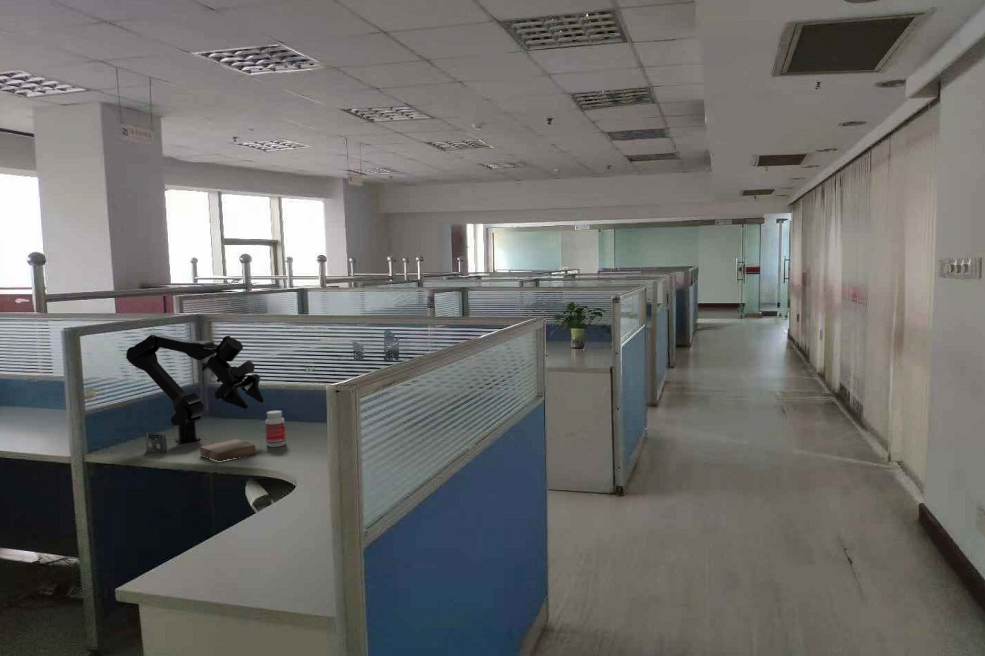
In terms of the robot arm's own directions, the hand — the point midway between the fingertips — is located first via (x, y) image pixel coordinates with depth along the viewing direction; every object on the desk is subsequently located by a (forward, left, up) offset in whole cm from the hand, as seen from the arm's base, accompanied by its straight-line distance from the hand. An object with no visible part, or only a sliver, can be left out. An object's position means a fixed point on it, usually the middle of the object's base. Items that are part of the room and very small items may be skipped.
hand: (255, 405), depth 238 cm
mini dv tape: (-15, -27, -13) cm, 34 cm away
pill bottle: (+6, +4, -13) cm, 15 cm away
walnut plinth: (+6, -12, -13) cm, 19 cm away
